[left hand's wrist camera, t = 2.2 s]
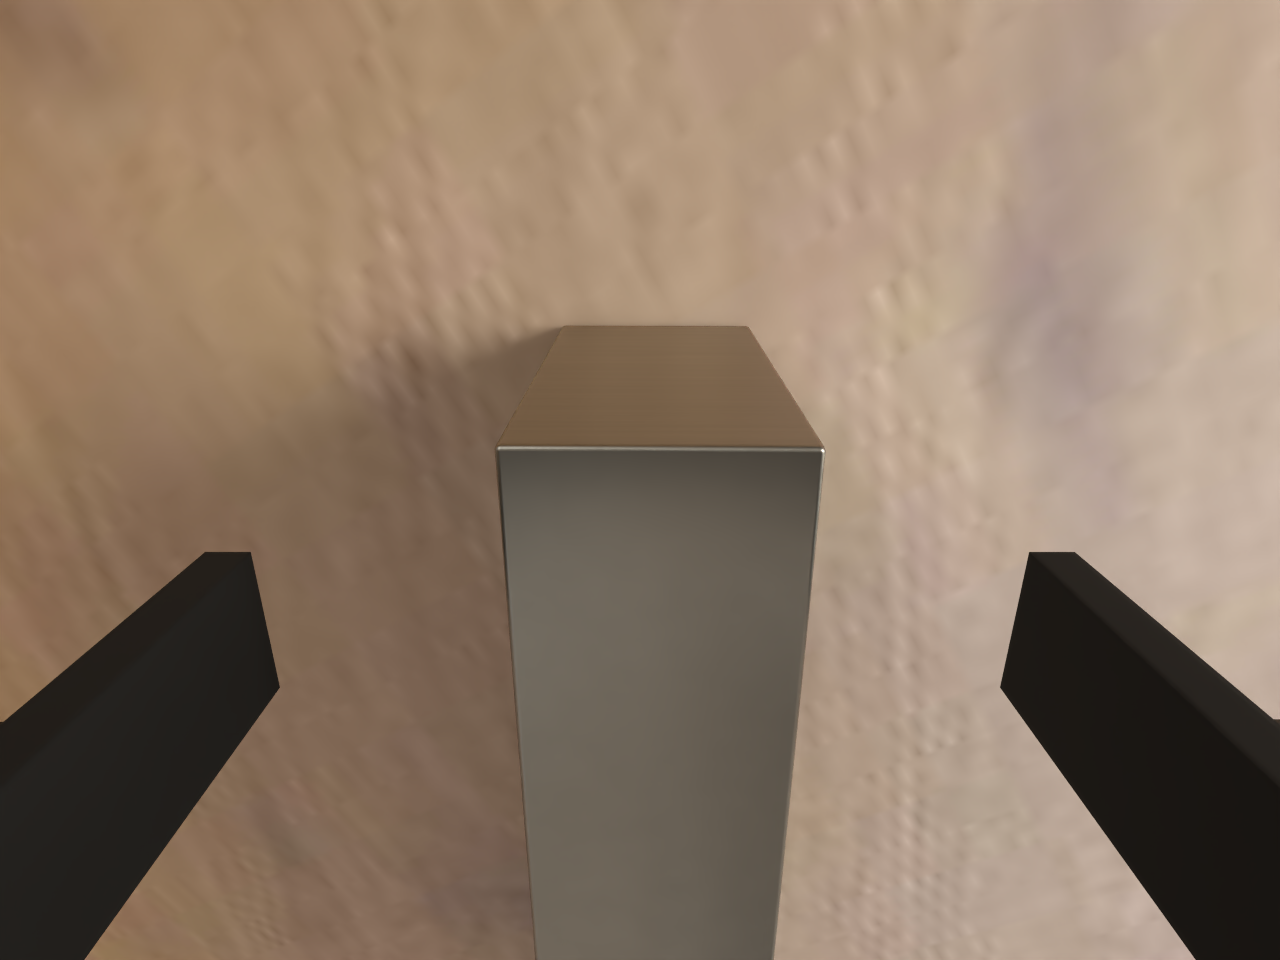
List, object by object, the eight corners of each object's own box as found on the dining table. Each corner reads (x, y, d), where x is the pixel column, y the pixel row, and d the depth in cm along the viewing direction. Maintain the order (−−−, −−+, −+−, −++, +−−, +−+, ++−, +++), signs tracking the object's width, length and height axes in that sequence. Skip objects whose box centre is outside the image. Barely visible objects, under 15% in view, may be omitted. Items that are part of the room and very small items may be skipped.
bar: (562, 325, 18) (493, 446, 10) (749, 325, 18) (827, 446, 10) (588, 997, 28) (564, 1331, 20) (711, 999, 28) (736, 1334, 20)
